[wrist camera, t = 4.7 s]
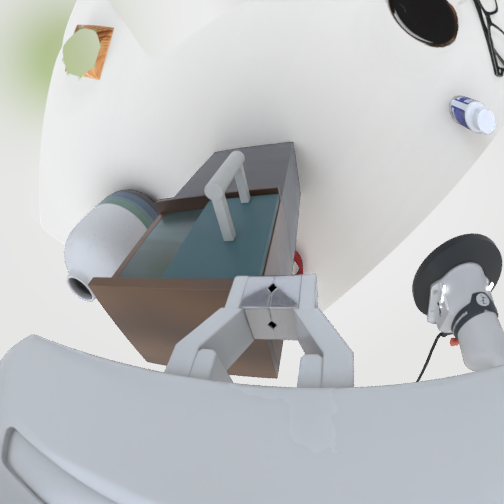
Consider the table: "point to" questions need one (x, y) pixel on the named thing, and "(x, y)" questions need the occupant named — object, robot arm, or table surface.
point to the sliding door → (227, 230)
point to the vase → (106, 238)
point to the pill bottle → (472, 115)
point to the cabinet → (200, 290)
